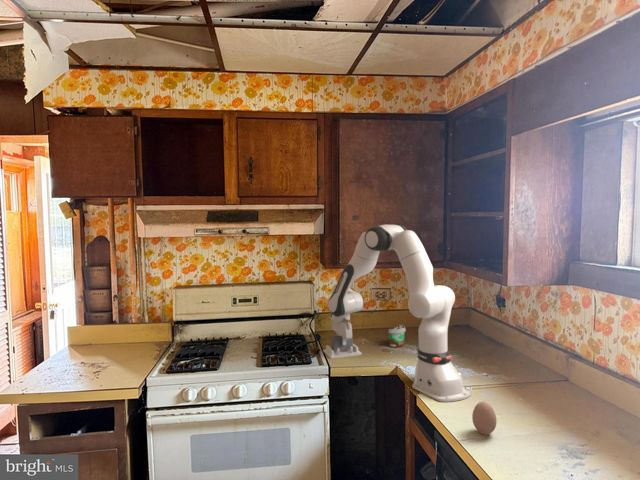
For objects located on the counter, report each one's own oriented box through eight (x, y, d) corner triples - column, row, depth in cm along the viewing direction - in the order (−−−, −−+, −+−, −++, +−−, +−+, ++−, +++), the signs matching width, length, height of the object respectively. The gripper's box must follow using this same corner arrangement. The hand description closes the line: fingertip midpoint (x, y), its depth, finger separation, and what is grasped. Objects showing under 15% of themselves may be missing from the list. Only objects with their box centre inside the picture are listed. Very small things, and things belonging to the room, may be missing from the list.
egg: (490, 427, 122) (489, 396, 121) (500, 439, 115) (500, 406, 115) (468, 428, 122) (468, 397, 121) (478, 440, 115) (477, 407, 114)
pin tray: (361, 354, 192) (361, 346, 192) (331, 359, 187) (330, 350, 187) (352, 347, 203) (352, 340, 203) (323, 351, 198) (323, 343, 198)
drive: (353, 348, 195) (352, 335, 194) (334, 350, 192) (333, 338, 191) (350, 345, 199) (349, 333, 198) (331, 348, 195) (331, 335, 195)
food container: (399, 350, 197) (399, 330, 197) (388, 348, 201) (388, 329, 201) (409, 343, 207) (409, 325, 207) (399, 342, 211) (399, 323, 210)
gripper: (355, 319, 185) (355, 348, 186) (339, 311, 205) (340, 337, 205) (342, 321, 184) (343, 350, 184) (328, 312, 203) (329, 338, 204)
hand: (341, 343), depth 195 cm, fingers closed on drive, 4 cm apart
